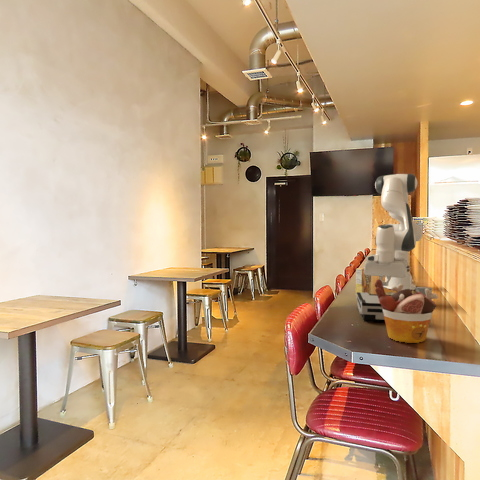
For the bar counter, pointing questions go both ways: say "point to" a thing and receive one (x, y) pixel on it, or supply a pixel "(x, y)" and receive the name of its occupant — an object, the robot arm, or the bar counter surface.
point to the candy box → (362, 281)
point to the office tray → (370, 306)
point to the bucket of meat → (406, 313)
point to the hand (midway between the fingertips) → (384, 285)
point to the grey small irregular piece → (423, 290)
